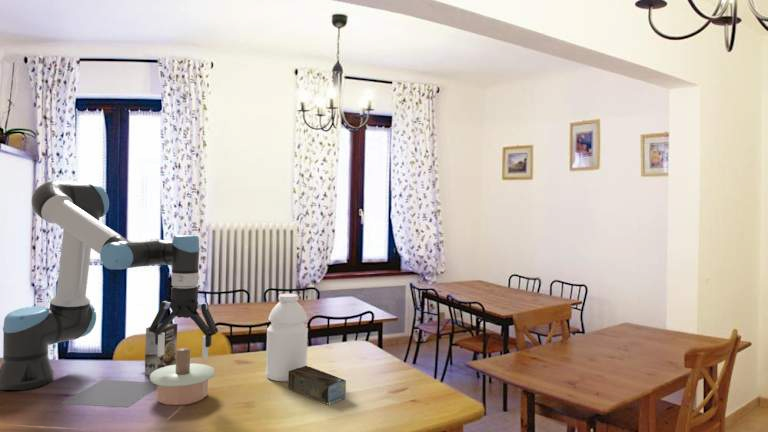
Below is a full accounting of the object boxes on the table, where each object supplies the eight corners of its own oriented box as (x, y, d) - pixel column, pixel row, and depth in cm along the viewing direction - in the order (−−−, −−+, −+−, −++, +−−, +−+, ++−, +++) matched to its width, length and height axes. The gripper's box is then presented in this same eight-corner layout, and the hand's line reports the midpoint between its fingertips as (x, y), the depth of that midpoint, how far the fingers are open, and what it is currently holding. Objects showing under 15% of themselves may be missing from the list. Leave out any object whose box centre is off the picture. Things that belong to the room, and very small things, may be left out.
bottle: (259, 380, 171) (261, 297, 171) (274, 367, 185) (276, 290, 184) (299, 383, 169) (301, 299, 169) (311, 370, 183) (314, 292, 182)
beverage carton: (327, 406, 152) (328, 384, 152) (286, 389, 164) (287, 369, 164) (346, 398, 158) (347, 377, 158) (305, 383, 170) (306, 363, 170)
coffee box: (160, 377, 171) (162, 329, 171) (143, 375, 172) (144, 327, 172) (177, 369, 180) (178, 323, 180) (160, 367, 181) (161, 322, 181)
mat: (60, 404, 146) (60, 403, 146) (102, 381, 166) (102, 379, 166) (128, 408, 145) (128, 407, 145) (162, 384, 165) (162, 382, 165)
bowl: (147, 405, 148) (148, 382, 147) (170, 387, 162) (170, 367, 162) (195, 407, 147) (195, 385, 147) (213, 390, 161) (214, 369, 161)
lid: (137, 384, 146) (138, 357, 145) (167, 365, 164) (167, 340, 163) (199, 387, 145) (200, 359, 145) (222, 367, 163) (223, 342, 163)
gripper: (137, 286, 150) (136, 357, 151) (221, 290, 149) (218, 362, 150) (150, 282, 158) (148, 350, 158) (230, 286, 157) (227, 354, 157)
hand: (182, 356), depth 154 cm, fingers open, 13 cm apart
